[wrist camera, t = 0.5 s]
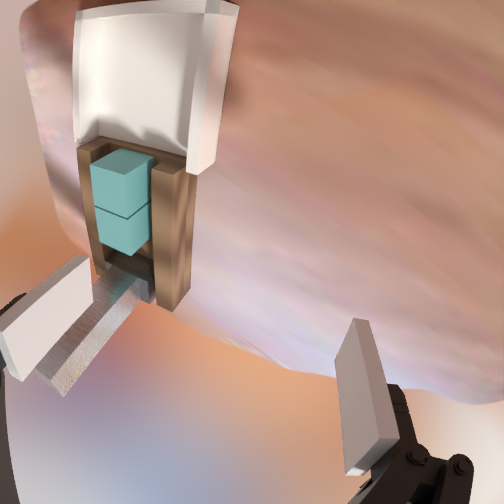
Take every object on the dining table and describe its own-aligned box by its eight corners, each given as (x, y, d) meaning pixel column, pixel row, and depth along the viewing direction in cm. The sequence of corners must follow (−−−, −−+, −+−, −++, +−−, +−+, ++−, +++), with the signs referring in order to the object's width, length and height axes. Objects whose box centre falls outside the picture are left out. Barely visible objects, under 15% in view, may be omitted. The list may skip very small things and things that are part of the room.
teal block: (122, 187, 28) (94, 206, 25) (154, 198, 27) (127, 220, 24) (124, 220, 30) (99, 241, 27) (155, 233, 30) (131, 256, 27)
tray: (100, 10, 19) (76, 11, 17) (239, 5, 16) (221, 0, 14) (95, 132, 27) (74, 142, 25) (214, 161, 25) (197, 175, 22)
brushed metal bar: (121, 245, 33) (17, 352, 20) (163, 264, 32) (59, 388, 19) (124, 267, 35) (31, 370, 22) (163, 286, 34) (72, 404, 22)
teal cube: (120, 148, 25) (89, 164, 22) (154, 156, 25) (124, 175, 22) (121, 185, 28) (94, 204, 25) (154, 196, 27) (127, 218, 24)
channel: (105, 134, 27) (76, 148, 24) (199, 157, 25) (173, 175, 22) (116, 254, 37) (96, 273, 34) (190, 288, 35) (172, 312, 32)
